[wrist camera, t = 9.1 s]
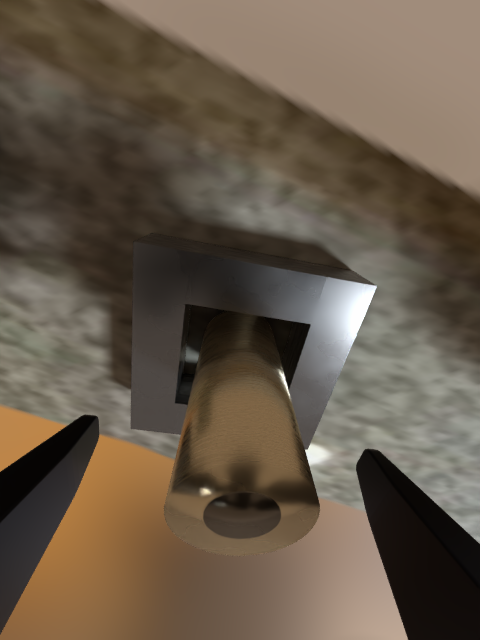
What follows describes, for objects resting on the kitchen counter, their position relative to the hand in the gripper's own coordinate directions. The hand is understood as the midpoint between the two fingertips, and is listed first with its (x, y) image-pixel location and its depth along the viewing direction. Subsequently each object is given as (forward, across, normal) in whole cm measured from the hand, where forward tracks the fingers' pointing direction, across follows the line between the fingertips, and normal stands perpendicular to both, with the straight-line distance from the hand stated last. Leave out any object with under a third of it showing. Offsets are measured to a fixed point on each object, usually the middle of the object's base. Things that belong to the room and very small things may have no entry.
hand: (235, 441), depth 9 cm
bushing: (+7, 0, 0) cm, 7 cm away
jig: (+7, 0, 0) cm, 7 cm away
